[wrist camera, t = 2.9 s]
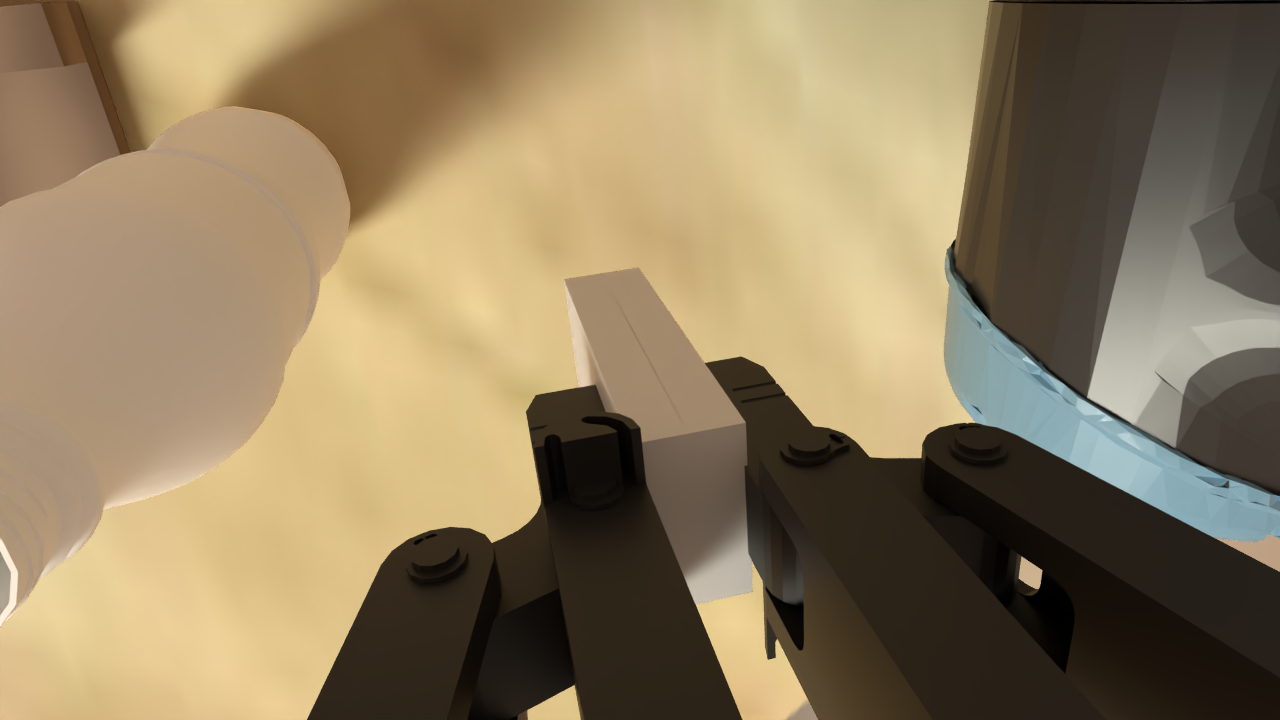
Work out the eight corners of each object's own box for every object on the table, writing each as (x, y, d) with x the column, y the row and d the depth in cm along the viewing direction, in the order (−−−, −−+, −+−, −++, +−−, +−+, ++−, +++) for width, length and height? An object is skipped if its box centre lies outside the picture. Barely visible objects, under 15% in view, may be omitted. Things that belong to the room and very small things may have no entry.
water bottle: (203, 63, 31) (-410, 237, 9) (384, 150, 34) (253, 452, 12) (143, 228, 33) (-485, 707, 11) (319, 299, 36) (100, 803, 14)
